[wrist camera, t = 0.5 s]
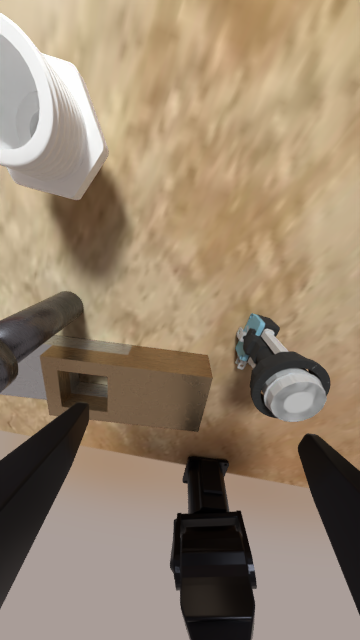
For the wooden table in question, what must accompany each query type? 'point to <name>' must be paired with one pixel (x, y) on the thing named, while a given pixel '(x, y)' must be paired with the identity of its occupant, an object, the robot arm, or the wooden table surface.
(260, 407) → the push button
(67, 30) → the wooden table surface
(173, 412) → the tan and silver block
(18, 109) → the pipe fitting
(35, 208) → the wooden table surface
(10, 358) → the metal knob
